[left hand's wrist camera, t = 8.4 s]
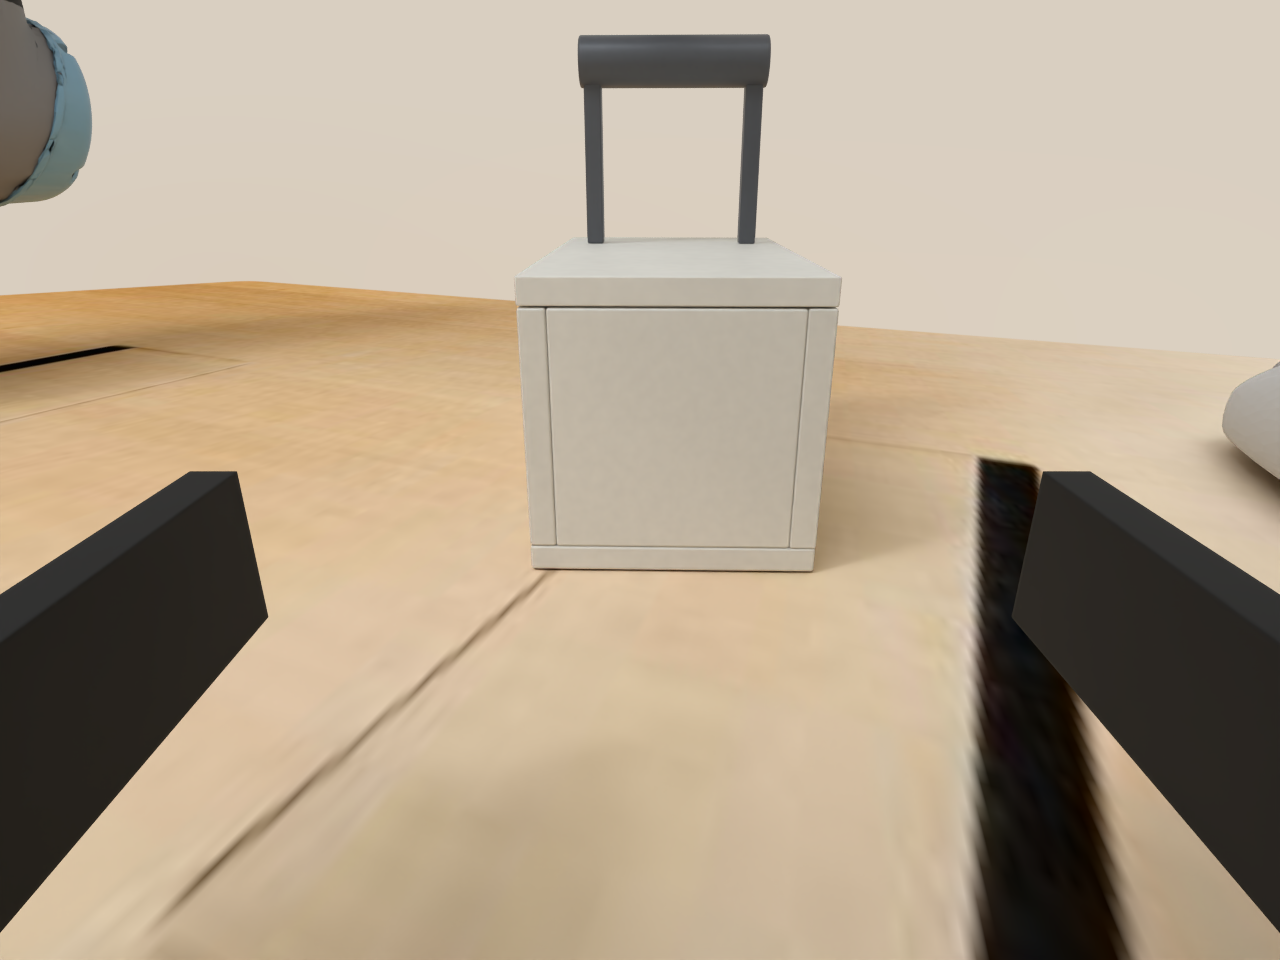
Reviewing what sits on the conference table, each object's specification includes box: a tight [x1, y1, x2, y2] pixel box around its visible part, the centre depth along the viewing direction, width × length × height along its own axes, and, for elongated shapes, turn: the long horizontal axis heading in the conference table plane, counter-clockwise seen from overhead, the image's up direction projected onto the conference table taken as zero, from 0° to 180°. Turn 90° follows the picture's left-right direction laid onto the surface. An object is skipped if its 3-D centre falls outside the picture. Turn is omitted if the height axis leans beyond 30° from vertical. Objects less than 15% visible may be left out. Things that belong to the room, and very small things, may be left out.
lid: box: [514, 34, 842, 307], centre depth 28 cm, size 16×9×9 cm, turn 179°
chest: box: [517, 306, 839, 571], centre depth 30 cm, size 15×9×9 cm, turn 179°
